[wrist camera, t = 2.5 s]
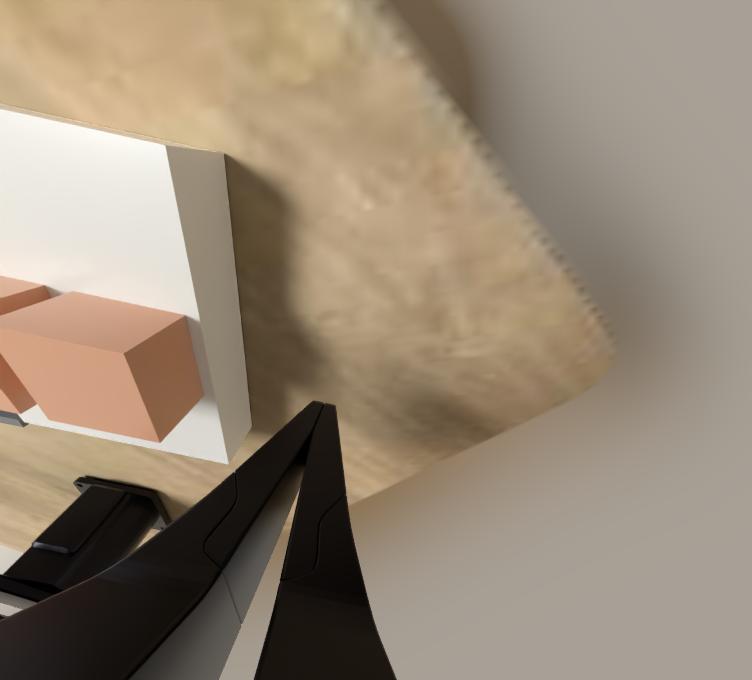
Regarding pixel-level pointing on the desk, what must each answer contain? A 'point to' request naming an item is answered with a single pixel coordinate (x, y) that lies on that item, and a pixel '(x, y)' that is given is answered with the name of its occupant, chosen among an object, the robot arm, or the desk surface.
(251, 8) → the desk surface
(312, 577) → the robot arm
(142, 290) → the board
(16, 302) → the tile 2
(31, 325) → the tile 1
